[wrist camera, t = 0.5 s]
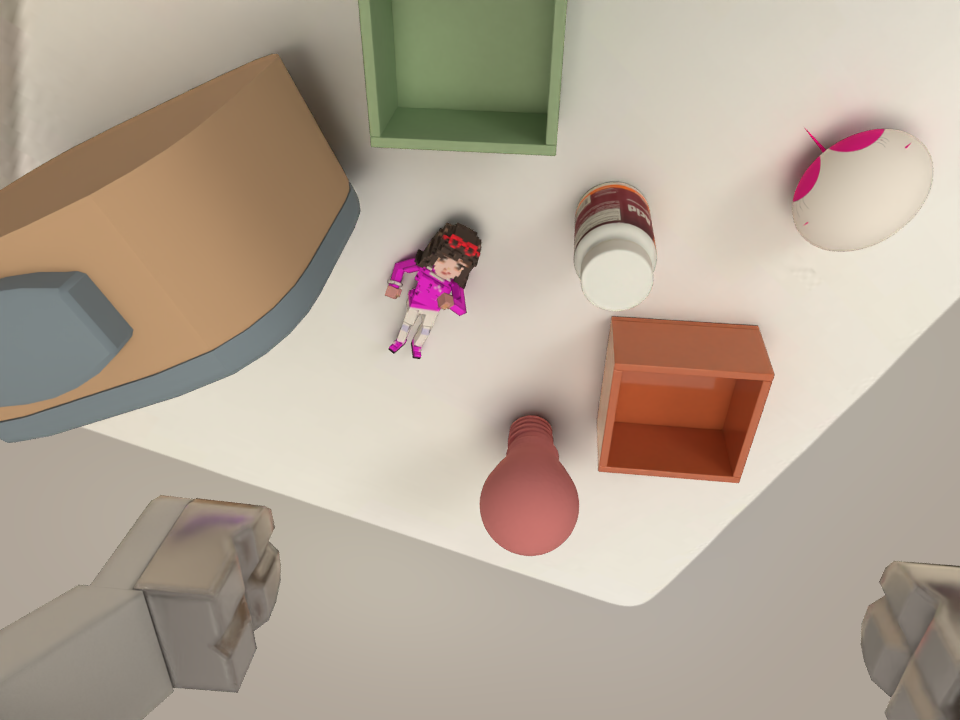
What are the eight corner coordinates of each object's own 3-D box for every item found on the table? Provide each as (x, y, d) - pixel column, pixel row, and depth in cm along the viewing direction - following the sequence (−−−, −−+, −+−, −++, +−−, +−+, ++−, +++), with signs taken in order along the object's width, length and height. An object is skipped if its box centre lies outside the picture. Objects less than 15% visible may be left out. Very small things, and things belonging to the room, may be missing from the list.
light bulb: (585, 397, 57) (586, 517, 47) (571, 461, 61) (571, 582, 52) (494, 386, 57) (478, 503, 47) (487, 450, 61) (471, 569, 52)
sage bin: (377, -80, 38) (351, -65, 34) (572, -76, 37) (571, -60, 33) (391, 113, 44) (370, 147, 40) (558, 120, 44) (555, 156, 39)
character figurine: (443, 345, 56) (502, 228, 48) (428, 391, 53) (489, 274, 44) (374, 316, 55) (422, 193, 47) (354, 362, 52) (402, 237, 44)
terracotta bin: (611, 315, 52) (614, 363, 47) (758, 325, 51) (775, 374, 47) (596, 421, 58) (598, 471, 54) (727, 431, 57) (739, 483, 53)
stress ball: (865, 88, 44) (861, 67, 38) (956, 190, 42) (966, 184, 37) (759, 176, 47) (740, 168, 42) (839, 272, 46) (831, 278, 40)
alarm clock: (144, 270, 54) (-57, 489, 37) (53, 154, 49) (-230, 346, 32) (386, 175, 47) (277, 390, 30) (309, 30, 42) (126, 189, 25)
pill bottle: (661, 228, 47) (674, 298, 41) (593, 257, 49) (596, 329, 42) (631, 166, 45) (640, 230, 38) (562, 199, 47) (559, 265, 40)
